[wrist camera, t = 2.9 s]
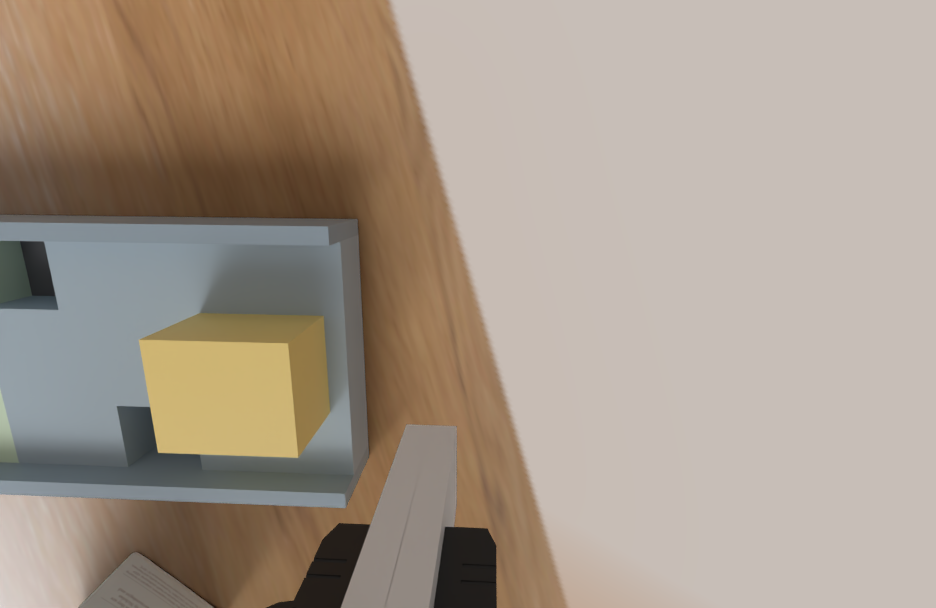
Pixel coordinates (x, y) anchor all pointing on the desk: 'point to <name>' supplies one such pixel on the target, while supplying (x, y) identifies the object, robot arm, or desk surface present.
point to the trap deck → (150, 310)
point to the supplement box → (142, 588)
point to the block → (237, 384)
